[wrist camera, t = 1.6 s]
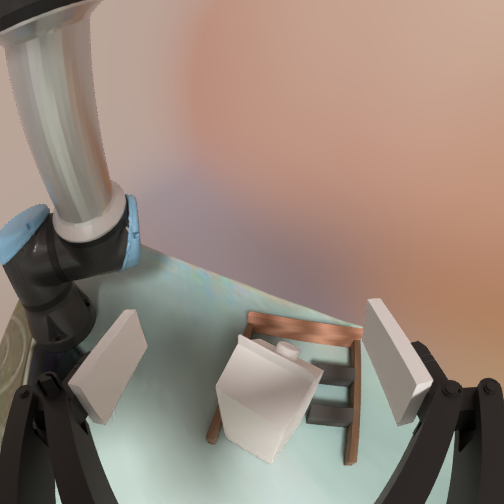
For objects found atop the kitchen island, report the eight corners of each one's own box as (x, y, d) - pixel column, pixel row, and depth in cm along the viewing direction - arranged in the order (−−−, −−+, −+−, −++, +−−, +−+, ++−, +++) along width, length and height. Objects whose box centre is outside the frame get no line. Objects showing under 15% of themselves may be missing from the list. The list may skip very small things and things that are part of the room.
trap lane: (207, 442, 29) (203, 433, 27) (249, 327, 47) (249, 311, 45) (351, 465, 25) (361, 458, 23) (356, 343, 43) (363, 328, 41)
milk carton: (270, 464, 27) (292, 410, 16) (225, 437, 30) (210, 362, 19) (299, 425, 31) (334, 343, 21) (255, 401, 35) (262, 310, 24)
